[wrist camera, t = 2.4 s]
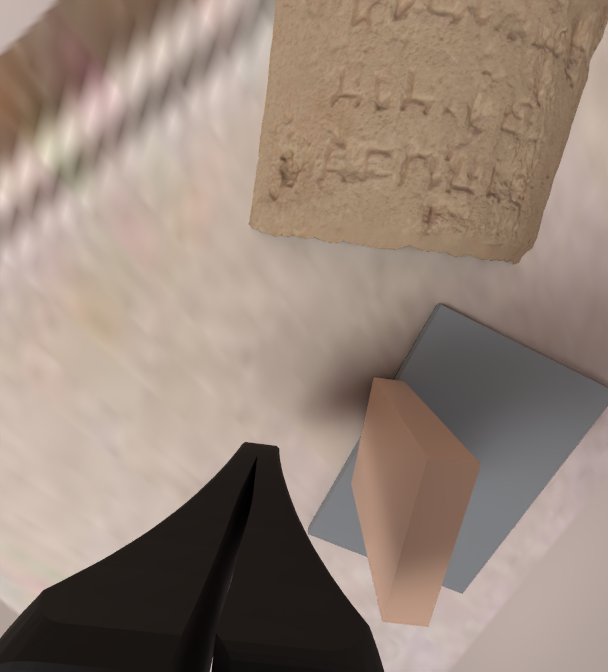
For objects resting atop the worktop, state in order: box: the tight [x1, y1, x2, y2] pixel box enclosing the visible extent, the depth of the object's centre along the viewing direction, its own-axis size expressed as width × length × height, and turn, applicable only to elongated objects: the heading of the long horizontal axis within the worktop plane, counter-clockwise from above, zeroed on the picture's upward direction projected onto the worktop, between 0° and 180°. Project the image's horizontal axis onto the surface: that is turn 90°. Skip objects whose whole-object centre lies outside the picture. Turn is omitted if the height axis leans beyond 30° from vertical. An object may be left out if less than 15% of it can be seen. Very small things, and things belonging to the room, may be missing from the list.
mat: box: [308, 304, 608, 594], centre depth 15 cm, size 14×10×1 cm
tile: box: [351, 377, 481, 627], centre depth 11 cm, size 6×2×6 cm, turn 172°
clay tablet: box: [249, 0, 608, 264], centre depth 11 cm, size 14×10×3 cm
